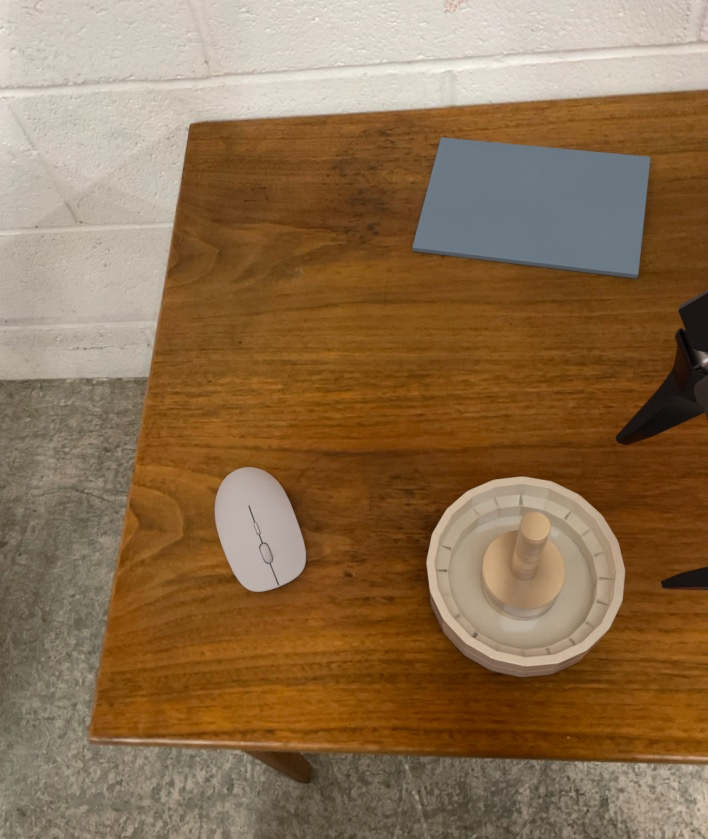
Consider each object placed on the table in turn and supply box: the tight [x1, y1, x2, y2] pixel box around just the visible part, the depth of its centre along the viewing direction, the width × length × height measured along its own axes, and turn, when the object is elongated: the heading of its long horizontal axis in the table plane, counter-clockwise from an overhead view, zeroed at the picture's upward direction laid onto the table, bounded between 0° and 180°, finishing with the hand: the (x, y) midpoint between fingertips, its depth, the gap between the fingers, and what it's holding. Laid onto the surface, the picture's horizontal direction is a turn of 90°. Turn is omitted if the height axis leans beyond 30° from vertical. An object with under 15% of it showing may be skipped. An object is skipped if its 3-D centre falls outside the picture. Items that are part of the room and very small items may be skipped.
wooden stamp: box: [481, 512, 565, 621], centre depth 53 cm, size 6×6×12 cm
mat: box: [411, 136, 652, 279], centre depth 75 cm, size 20×14×1 cm
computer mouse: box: [214, 466, 307, 593], centre depth 61 cm, size 6×10×3 cm, turn 21°
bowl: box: [425, 476, 626, 678], centre depth 57 cm, size 13×13×4 cm
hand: (641, 510), depth 47 cm, fingers open, 9 cm apart
